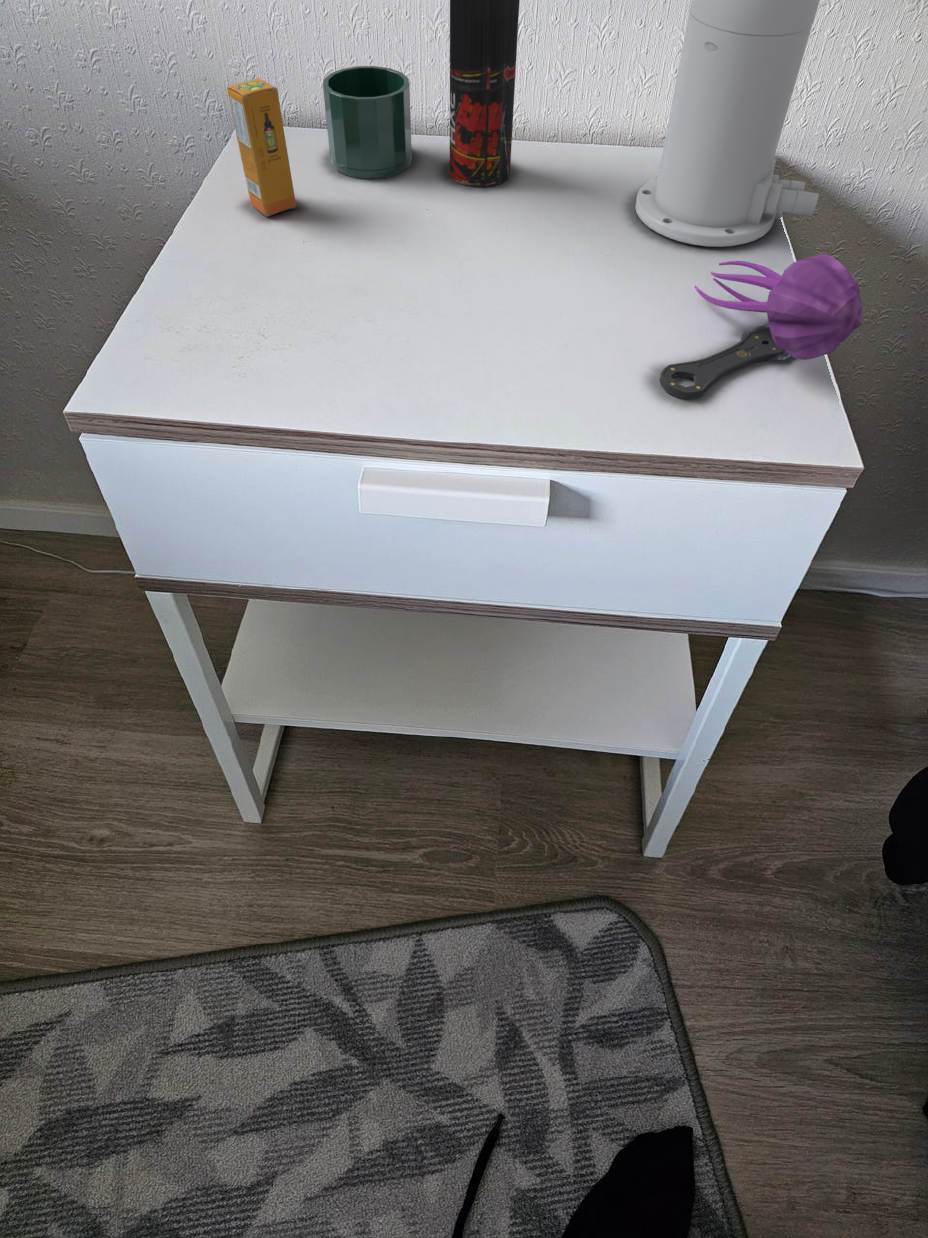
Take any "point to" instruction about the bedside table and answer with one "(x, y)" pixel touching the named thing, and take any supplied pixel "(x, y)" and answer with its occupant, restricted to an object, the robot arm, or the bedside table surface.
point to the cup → (368, 121)
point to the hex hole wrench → (722, 363)
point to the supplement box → (262, 145)
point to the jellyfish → (801, 303)
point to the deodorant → (482, 89)
